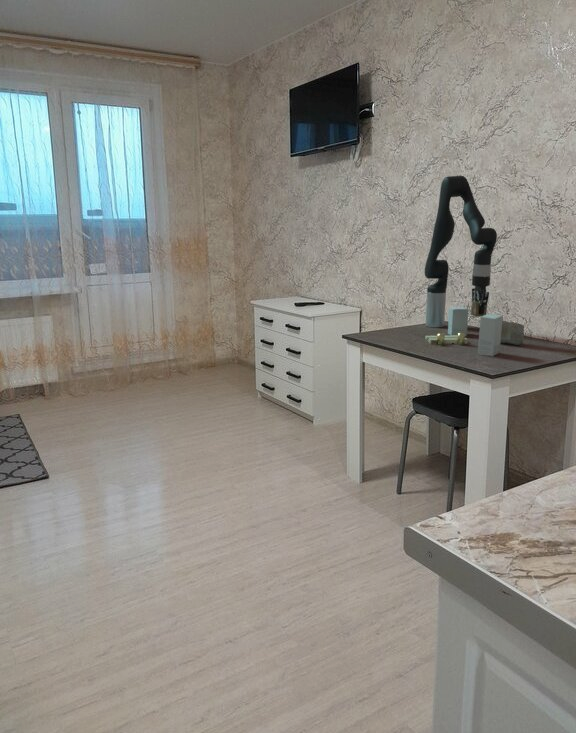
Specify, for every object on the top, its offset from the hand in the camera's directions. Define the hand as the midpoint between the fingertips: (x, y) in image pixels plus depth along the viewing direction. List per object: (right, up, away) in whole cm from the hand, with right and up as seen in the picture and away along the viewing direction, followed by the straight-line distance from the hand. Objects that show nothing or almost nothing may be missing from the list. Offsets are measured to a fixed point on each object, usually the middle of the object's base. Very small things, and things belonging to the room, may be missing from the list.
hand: (478, 313), depth 266 cm
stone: (+11, -14, -7) cm, 19 cm away
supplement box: (-5, -9, +16) cm, 19 cm away
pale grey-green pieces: (-15, -13, 0) cm, 20 cm away
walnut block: (0, -1, 0) cm, 1 cm away
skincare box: (-4, -19, -25) cm, 31 cm away
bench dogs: (-14, -14, -7) cm, 21 cm away
